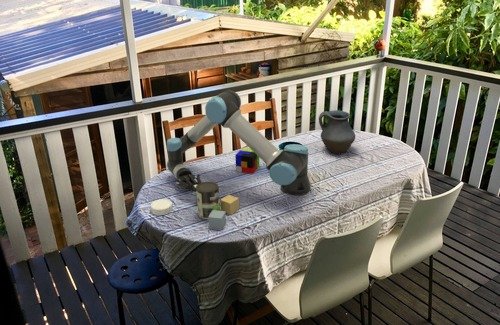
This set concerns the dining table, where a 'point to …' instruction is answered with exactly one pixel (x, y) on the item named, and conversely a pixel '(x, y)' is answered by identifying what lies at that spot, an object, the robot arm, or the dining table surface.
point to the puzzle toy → (247, 161)
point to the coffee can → (207, 198)
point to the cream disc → (161, 207)
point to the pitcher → (336, 131)
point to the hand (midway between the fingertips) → (200, 192)
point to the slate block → (217, 220)
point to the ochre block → (229, 204)
